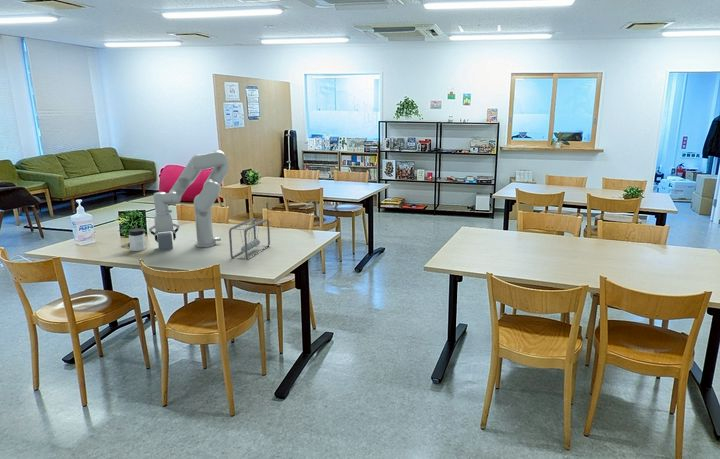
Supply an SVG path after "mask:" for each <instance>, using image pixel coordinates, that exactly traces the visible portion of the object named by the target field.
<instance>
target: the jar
mask: <svg viewBox="0 0 720 459" xmlns="http://www.w3.org/2000/svg"><path fill="white" fill-rule="evenodd" d="M129 242H130V246H129V248H130V249H129V250H130V251H131V252H140V251H145V250H146V249H147V243H146V242H147V240H146V233H145V229H144V228H140V227H139V228H131V230H130V229H129V230H128V243H129Z"/></svg>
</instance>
